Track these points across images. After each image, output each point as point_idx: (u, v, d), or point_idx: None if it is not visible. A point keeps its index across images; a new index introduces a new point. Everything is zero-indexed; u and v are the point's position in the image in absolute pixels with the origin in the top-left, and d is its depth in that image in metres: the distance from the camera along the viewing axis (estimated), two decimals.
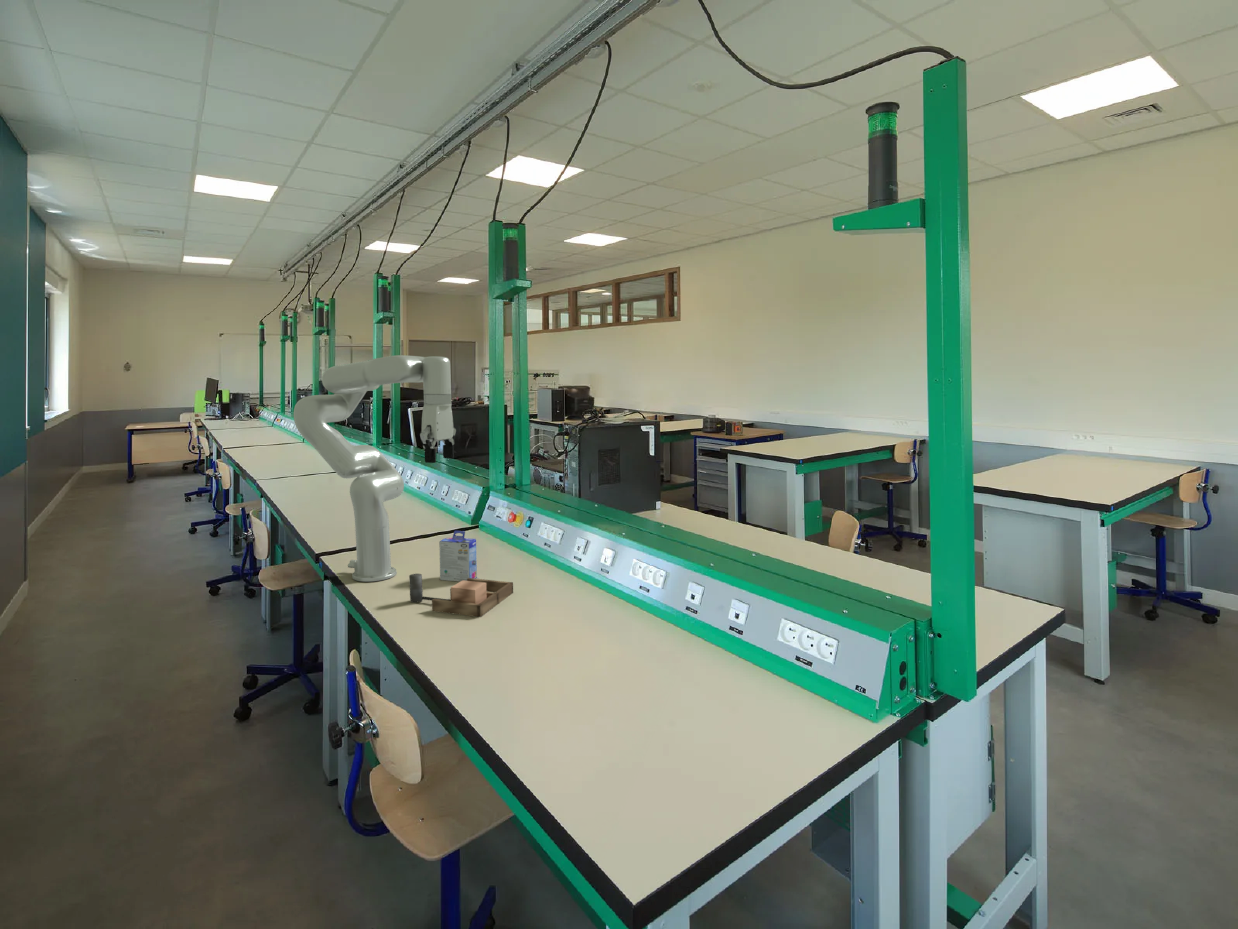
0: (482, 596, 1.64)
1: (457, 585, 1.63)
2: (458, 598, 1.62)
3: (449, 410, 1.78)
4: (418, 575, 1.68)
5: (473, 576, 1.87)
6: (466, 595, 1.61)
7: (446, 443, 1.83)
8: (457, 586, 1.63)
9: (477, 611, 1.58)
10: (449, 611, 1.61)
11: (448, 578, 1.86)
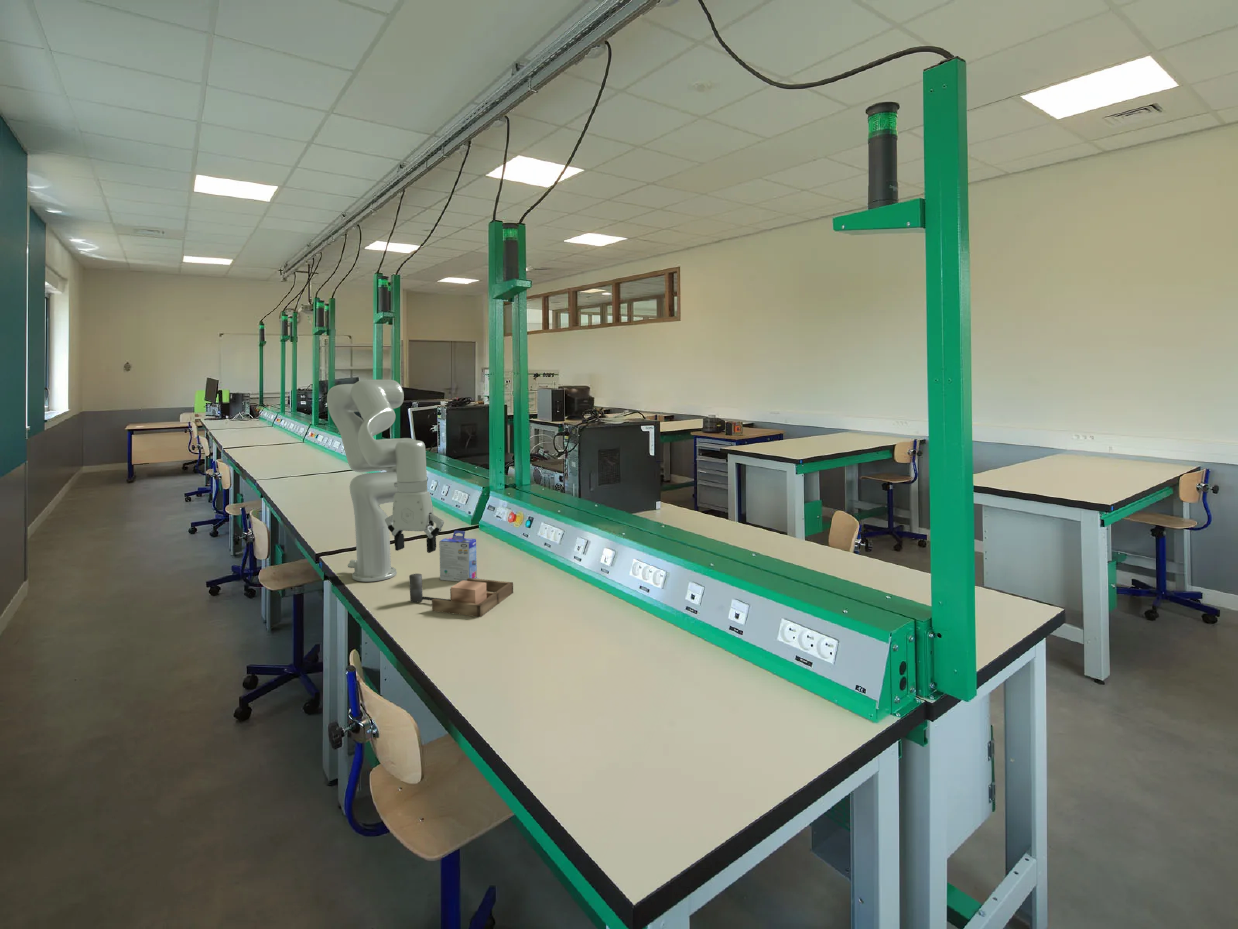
0: (482, 596, 1.64)
1: (457, 585, 1.63)
2: (458, 598, 1.62)
3: None
4: (418, 575, 1.68)
5: (473, 576, 1.87)
6: (466, 595, 1.61)
7: (398, 533, 1.67)
8: (457, 586, 1.63)
9: (477, 611, 1.58)
10: (449, 611, 1.61)
11: (448, 578, 1.86)
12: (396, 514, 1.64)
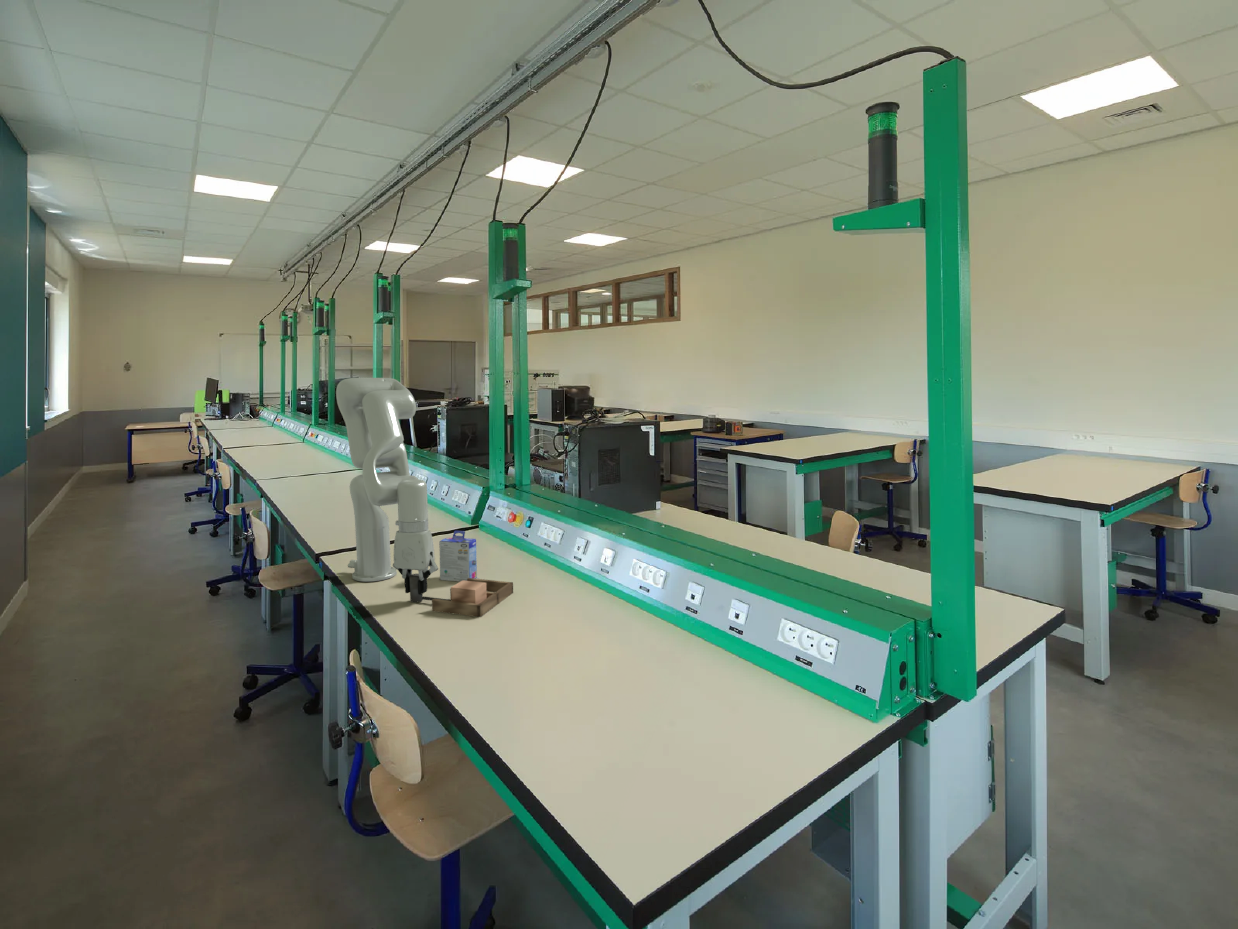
0: (482, 596, 1.64)
1: (457, 585, 1.63)
2: (458, 598, 1.62)
3: None
4: (418, 575, 1.68)
5: (473, 576, 1.87)
6: (466, 595, 1.61)
7: (408, 574, 1.68)
8: (457, 586, 1.63)
9: (477, 611, 1.58)
10: (449, 611, 1.61)
11: (448, 578, 1.86)
12: (397, 552, 1.65)
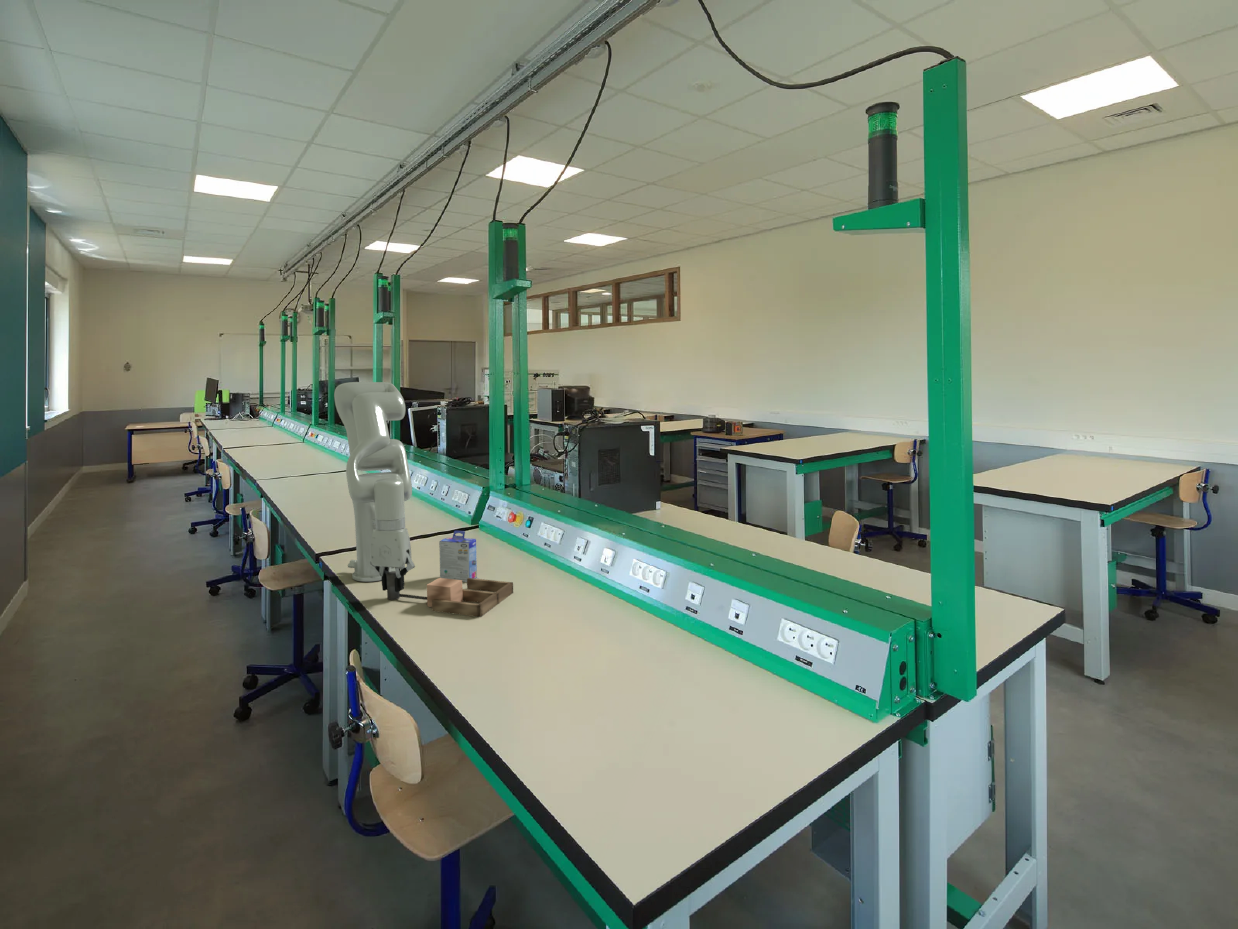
0: (458, 594, 1.66)
1: (433, 583, 1.65)
2: (434, 595, 1.64)
3: None
4: (395, 573, 1.70)
5: (473, 576, 1.87)
6: (441, 592, 1.63)
7: (385, 572, 1.70)
8: (433, 583, 1.65)
9: (477, 611, 1.58)
10: (449, 611, 1.61)
11: (448, 578, 1.86)
12: (374, 550, 1.67)
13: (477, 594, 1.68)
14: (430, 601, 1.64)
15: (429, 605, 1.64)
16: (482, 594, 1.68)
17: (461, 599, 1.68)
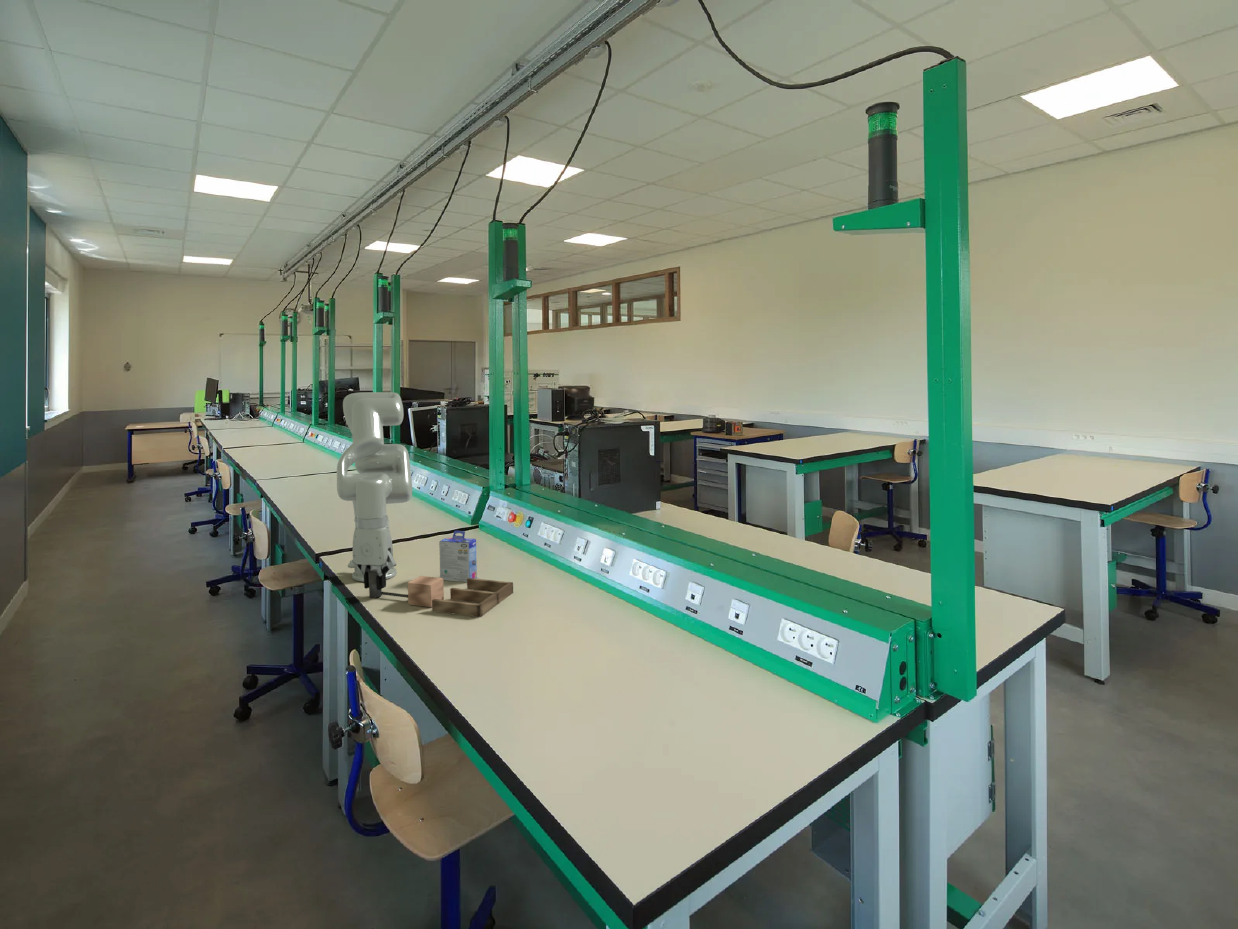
0: (439, 591, 1.68)
1: (414, 581, 1.67)
2: (415, 593, 1.65)
3: None
4: None
5: (473, 576, 1.87)
6: (422, 590, 1.64)
7: (367, 570, 1.71)
8: (414, 581, 1.66)
9: (477, 611, 1.58)
10: (449, 611, 1.61)
11: (448, 578, 1.86)
12: (356, 548, 1.69)
13: (477, 594, 1.68)
14: (411, 599, 1.66)
15: (410, 603, 1.66)
16: (482, 594, 1.68)
17: (442, 597, 1.69)
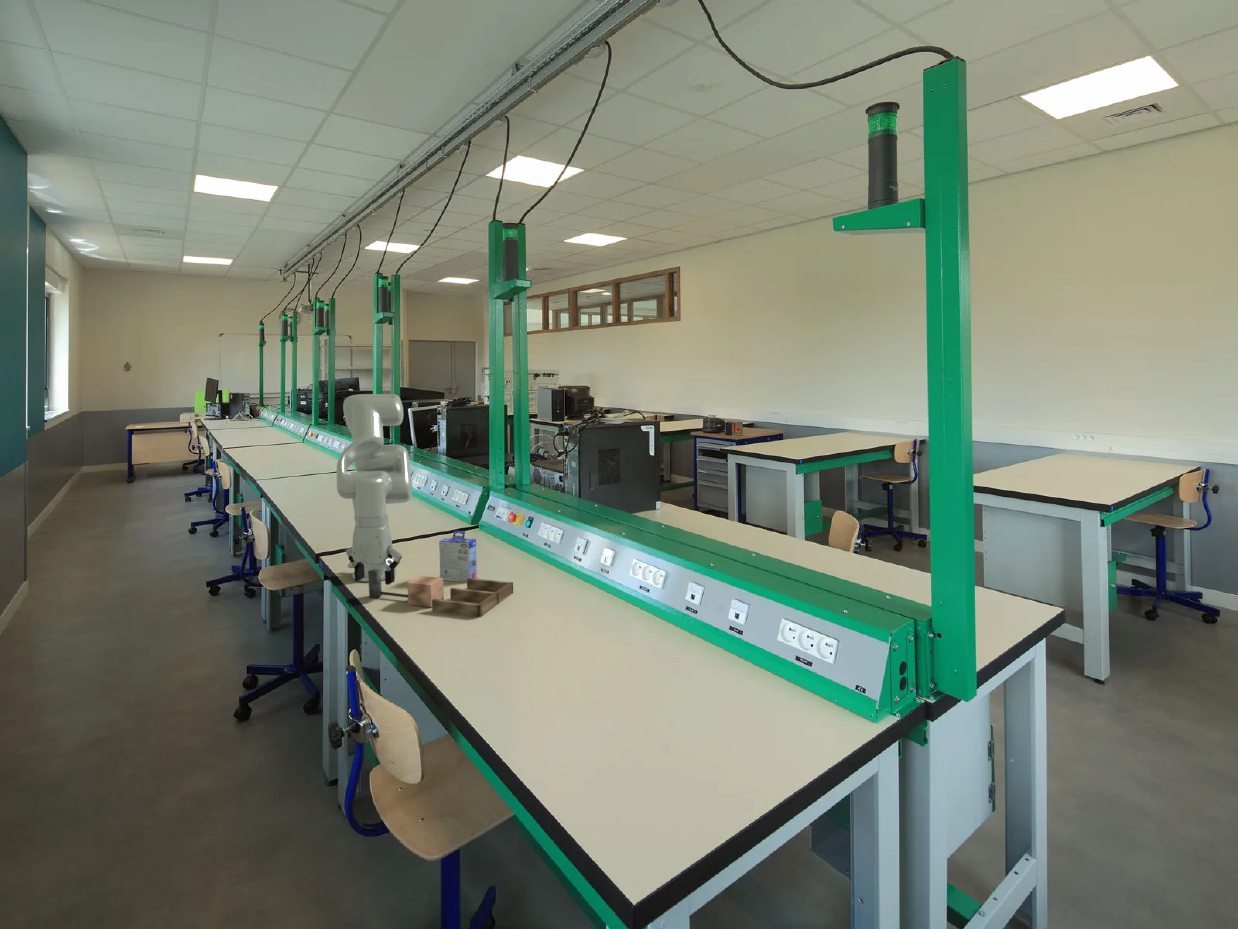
0: (439, 591, 1.68)
1: (414, 581, 1.67)
2: (415, 593, 1.65)
3: None
4: (377, 571, 1.71)
5: (473, 576, 1.87)
6: (422, 590, 1.64)
7: (358, 564, 1.73)
8: (414, 581, 1.66)
9: (477, 611, 1.58)
10: (449, 611, 1.61)
11: (448, 578, 1.86)
12: (355, 546, 1.69)
13: (477, 594, 1.68)
14: (411, 599, 1.66)
15: (410, 603, 1.66)
16: (482, 594, 1.68)
17: (442, 597, 1.69)
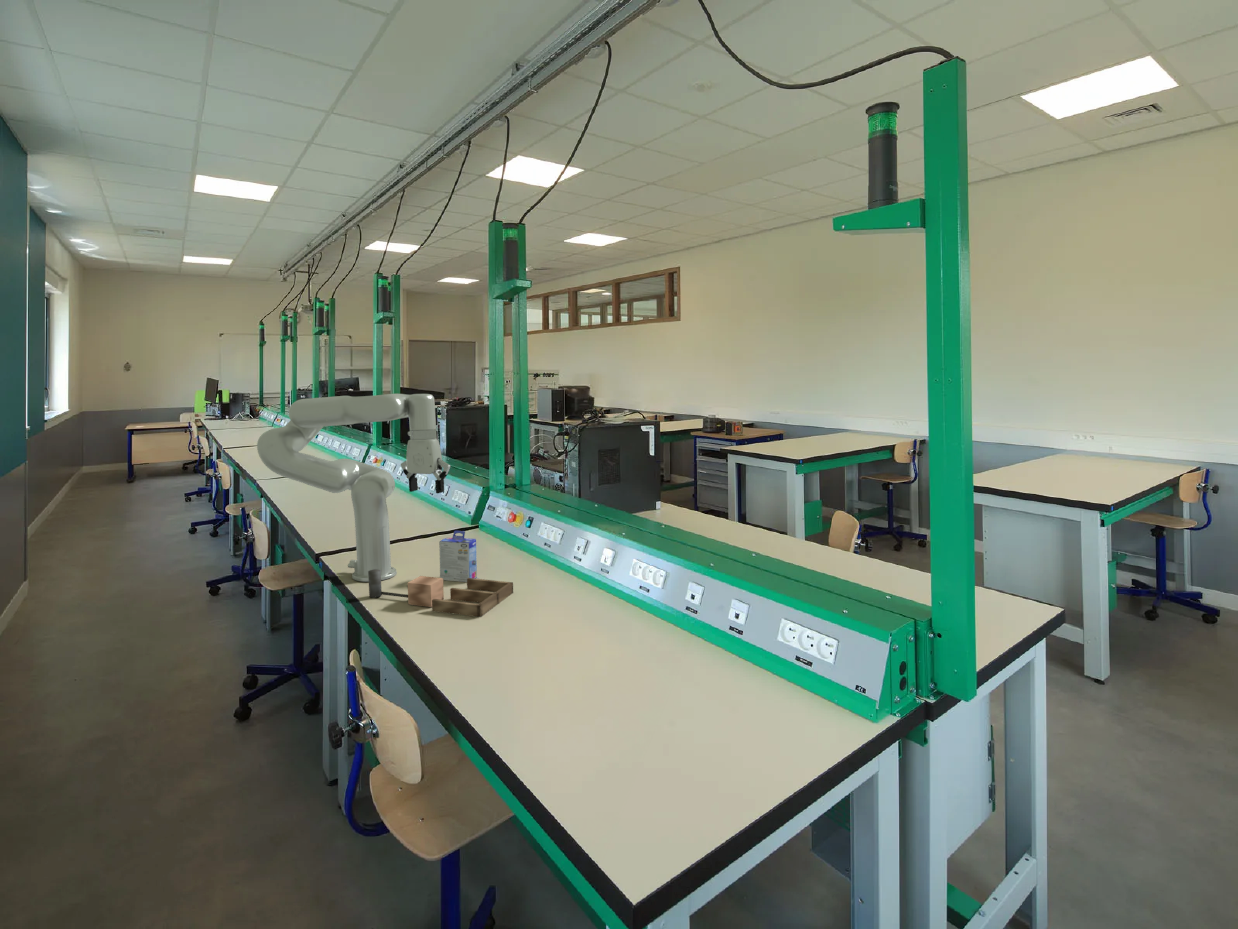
0: (439, 591, 1.68)
1: (414, 581, 1.67)
2: (415, 593, 1.65)
3: None
4: (377, 571, 1.71)
5: (473, 576, 1.87)
6: (422, 590, 1.64)
7: (412, 477, 1.89)
8: (414, 581, 1.66)
9: (477, 611, 1.58)
10: (449, 611, 1.61)
11: (448, 578, 1.86)
12: (409, 458, 1.86)
13: (477, 594, 1.68)
14: (411, 599, 1.66)
15: (410, 603, 1.66)
16: (482, 594, 1.68)
17: (442, 597, 1.69)
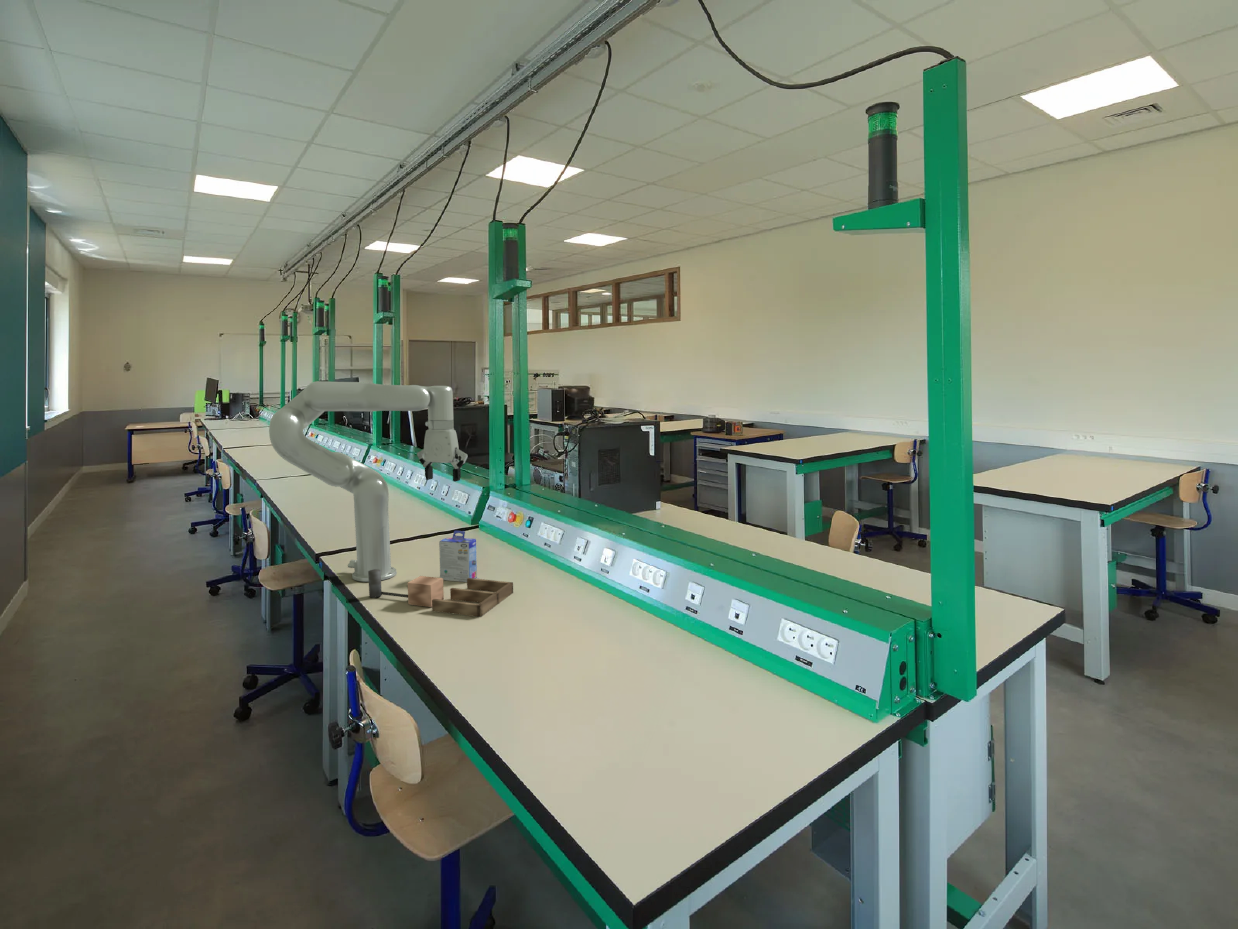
0: (439, 591, 1.68)
1: (414, 581, 1.67)
2: (415, 593, 1.65)
3: None
4: (377, 571, 1.71)
5: (473, 576, 1.87)
6: (422, 590, 1.64)
7: (428, 465, 1.96)
8: (414, 581, 1.66)
9: (477, 611, 1.58)
10: (449, 611, 1.61)
11: (448, 578, 1.86)
12: (427, 448, 1.92)
13: (477, 594, 1.68)
14: (411, 599, 1.66)
15: (410, 603, 1.66)
16: (482, 594, 1.68)
17: (442, 597, 1.69)
